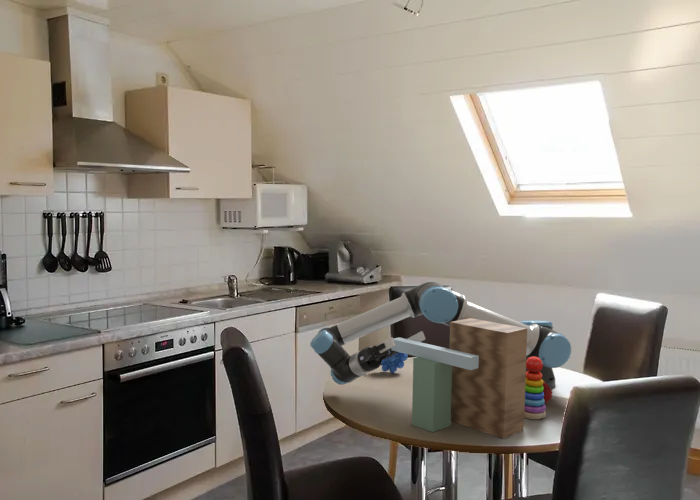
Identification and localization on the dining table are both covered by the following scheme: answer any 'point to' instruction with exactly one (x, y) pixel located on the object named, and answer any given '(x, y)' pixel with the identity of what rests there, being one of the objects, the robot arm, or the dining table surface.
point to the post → (431, 394)
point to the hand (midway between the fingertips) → (408, 338)
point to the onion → (547, 392)
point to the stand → (489, 377)
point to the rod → (436, 353)
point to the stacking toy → (534, 390)
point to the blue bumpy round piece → (394, 362)
